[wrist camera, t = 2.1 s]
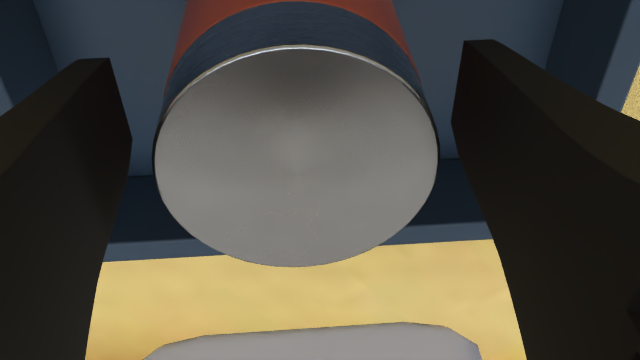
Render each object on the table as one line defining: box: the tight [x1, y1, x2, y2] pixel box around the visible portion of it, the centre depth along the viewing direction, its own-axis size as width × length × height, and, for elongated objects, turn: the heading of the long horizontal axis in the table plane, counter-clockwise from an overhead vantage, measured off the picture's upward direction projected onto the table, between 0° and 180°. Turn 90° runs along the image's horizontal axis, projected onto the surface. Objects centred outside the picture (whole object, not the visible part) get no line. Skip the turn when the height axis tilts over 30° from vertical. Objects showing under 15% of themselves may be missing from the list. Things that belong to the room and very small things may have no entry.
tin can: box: [152, 0, 440, 267], centre depth 13 cm, size 5×5×7 cm
